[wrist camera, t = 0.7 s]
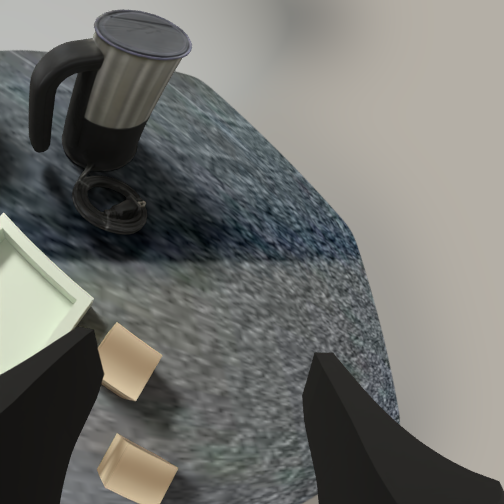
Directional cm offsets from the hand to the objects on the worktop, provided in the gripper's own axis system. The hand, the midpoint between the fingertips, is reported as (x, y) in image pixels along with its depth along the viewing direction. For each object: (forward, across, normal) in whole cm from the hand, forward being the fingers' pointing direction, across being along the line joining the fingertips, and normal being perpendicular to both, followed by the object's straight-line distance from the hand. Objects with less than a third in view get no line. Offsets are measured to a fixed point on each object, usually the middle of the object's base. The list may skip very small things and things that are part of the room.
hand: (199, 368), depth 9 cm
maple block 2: (+4, +7, +17) cm, 19 cm away
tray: (+7, +18, +7) cm, 20 cm away
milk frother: (+23, +14, -3) cm, 27 cm away
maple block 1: (+10, +9, +11) cm, 17 cm away
